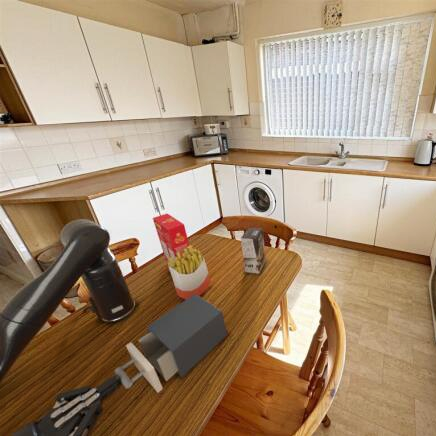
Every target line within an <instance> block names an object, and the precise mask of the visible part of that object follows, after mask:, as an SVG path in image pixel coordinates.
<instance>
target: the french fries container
mask: <svg viewBox="0 0 436 436" xmlns="http://www.w3.org/2000/svg"><path fill="white" fill-rule="evenodd" d="M187 249H188V251H189V253H188V251H187ZM187 249H186V248H185V249H184V252H185V253H183V254H182V257H183V258H181V256H180V253H179V252H178V253H177V256H178V258H177V257H174V260H175V263H174V261H173V259H172V258H169V259H168V261H169V264H170V266H169V269H170V272H171V273H170V272H169V273H170V275H171V278H172V281H173V284H174V288H175V292H176V295H177V296H178V297H180V298H181V299H183V300H184V301H185V300H186V299H188V298H189V297H191V296H192V295H194V294H197V295H198V296H200V297H201V295H202V294H203V293H205V292H206V291H207V289H208V287H209V286H210V283H211V278H210V274H209V270H208V266H207V264H206V261H205V257H204V256H203V254H202V252H201V251H200V250H197V249H196V248H194V247H193V245H192V244H191V245H190V244H189V246H188V247H187ZM178 260H179V261H178ZM169 269H168V270H169Z"/></svg>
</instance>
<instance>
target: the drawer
mask: <svg viewBox="0 0 436 436" xmlns="http://www.w3.org/2000/svg"><path fill="white" fill-rule="evenodd" d="M138 343H139V346H140V349H141V350H142V352H143V353H142V352H141V351H140V350H139V348H137V347H136V346H135V345H134V343H133V342H132V341H130V342H129V343H127V344H126V345H125V347H126V349H127V351H128V354H129V355H130V357H131V359H130V360H129V361H127V362H125V364H123V365H122V366H118V367H116V368H115V369H114V375H117V376H118V377H119V379H120V380H121V382H122V384H121V385H123V387H124V388H125V389H128V390H129V389H130V388H132V386H133V383H135V382H136V381H137V380H138V379H140V377H142V376H143V377H144V378H145V379H146V380H147V382H148V383H149V384H150V386H151V387H152V388H153V389H154V390H155V391H156V393H157V394H159V393H160V392H161V391H162V390H163V389H164V388H163V385H162V383H161V381H160V378H159V376H158V374H159V375H160V376H161V377H162V378H163V380H165V381H166V382H168V381H169V380H170V379H171V378H172V377H174V375H175V374H177V371H178V369H177V366H176V363H175V361H174V358H173V355H172V352H171V351H170V350H169V349H168V348H167V347H166V346H165V345H164V344H163V343H162V342H161V341H159V340H158V339H157V338H156V337H155V336H154V335H153V334H152V333H151V332H147V333H146V334H145V335H143V336H142V337H140V338H139V339H138ZM143 354H144V355H143ZM133 363H134V366H135V367H136V369H138V371H139V373H137V374H136V375H135V376H134V377H132V378H130V377H129V375H128V374H127V373H126V371H124V370H125V369H127V368H128V367H129V366H131V365H132V364H133Z"/></svg>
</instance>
